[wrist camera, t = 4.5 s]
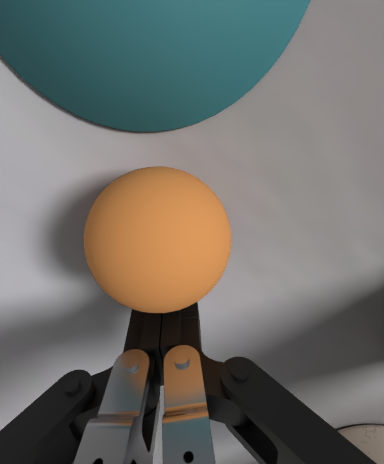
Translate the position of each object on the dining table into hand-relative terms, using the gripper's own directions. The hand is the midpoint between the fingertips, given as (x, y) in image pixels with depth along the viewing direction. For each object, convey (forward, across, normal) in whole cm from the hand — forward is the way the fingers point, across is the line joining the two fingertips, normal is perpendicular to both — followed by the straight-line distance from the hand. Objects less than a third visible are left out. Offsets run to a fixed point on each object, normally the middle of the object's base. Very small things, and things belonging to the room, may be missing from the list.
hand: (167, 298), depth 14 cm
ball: (-1, 0, -4) cm, 4 cm away
